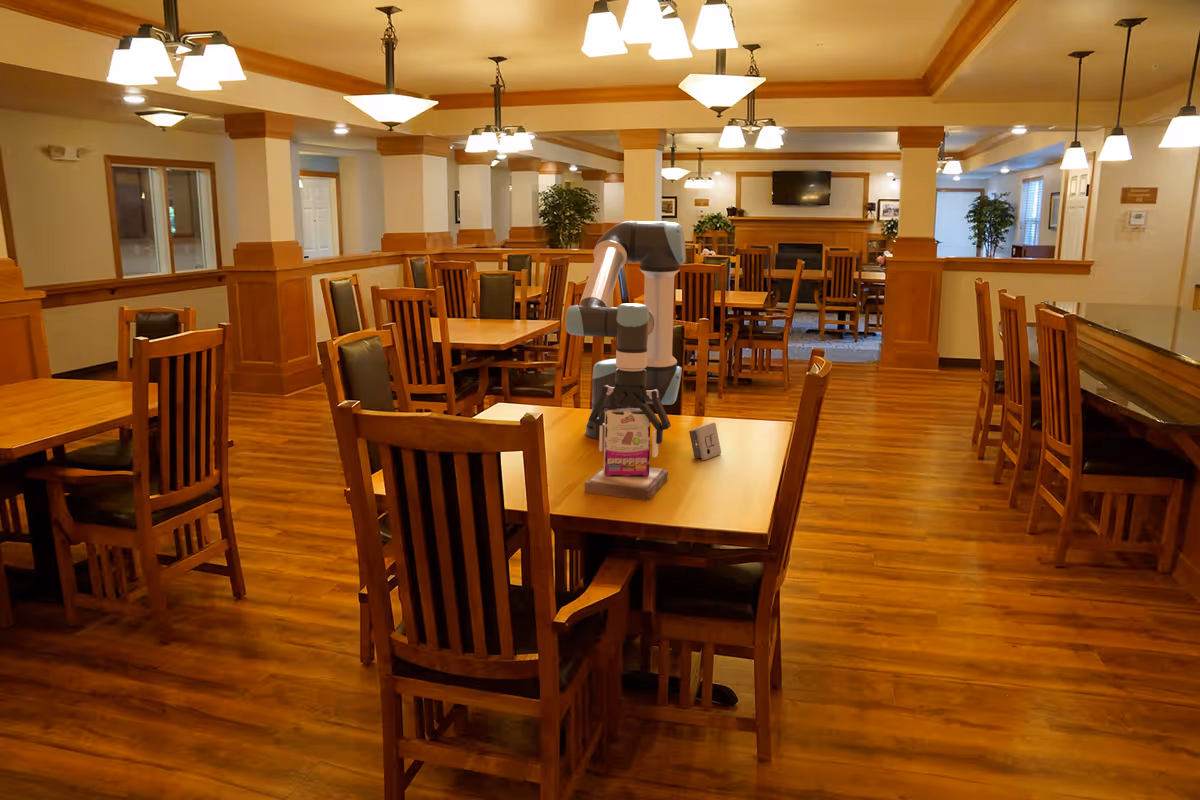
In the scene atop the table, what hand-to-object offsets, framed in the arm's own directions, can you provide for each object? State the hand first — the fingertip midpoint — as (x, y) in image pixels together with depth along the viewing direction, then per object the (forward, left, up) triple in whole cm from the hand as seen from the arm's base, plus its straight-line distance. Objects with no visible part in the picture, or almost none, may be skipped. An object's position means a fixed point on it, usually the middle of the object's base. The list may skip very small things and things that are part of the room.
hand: (628, 453), depth 210 cm
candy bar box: (0, 0, -6) cm, 6 cm away
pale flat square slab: (0, 0, -8) cm, 8 cm away
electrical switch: (-35, +12, -9) cm, 38 cm away
